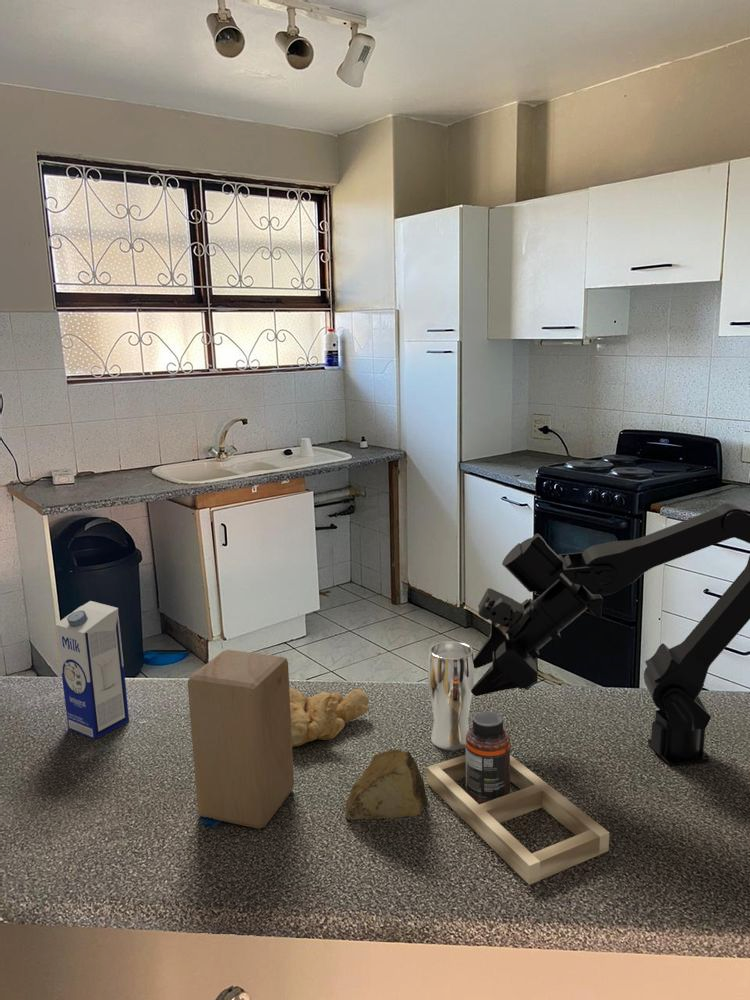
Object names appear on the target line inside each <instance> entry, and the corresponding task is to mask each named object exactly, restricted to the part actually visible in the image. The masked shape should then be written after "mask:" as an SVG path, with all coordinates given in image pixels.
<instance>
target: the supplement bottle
mask: <svg viewBox="0 0 750 1000" xmlns="http://www.w3.org/2000/svg"><path fill="white" fill-rule="evenodd" d="M465 755H466V778H465V789H466V791H465V792H466V793H467V794H468V795H469V796H471V797H472V798H473V799H474V800H475V801H476V802H477V803H478V804H482V803H485V802H488V801H491V800H493V799H496V798H499V797H502V796H505V795H507V794H510V792H511V790H510V788H511V781H510V755H511V737H510V734H509V732H508V731H507V730H506V729H505V728H504V720H503V717H502V715H501V714H499V713H497V712H494V711H491V710H490V711H489V710H485V711H484V710H483V711H479V712H477V713H475V714H474V715H473V717H472V727H469V730H468V732H467V734H466V748H465Z"/></svg>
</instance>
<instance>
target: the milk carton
mask: <svg viewBox="0 0 750 1000" xmlns="http://www.w3.org/2000/svg"><path fill="white" fill-rule="evenodd" d="M55 629H56V636H57V637H56V638H57V645H58V655H59V662H60V669H61V677H62V678H61V679H62V687H63V696H64V704H65V711H66V720H67V728H68V730H71V731H73V732H74V733H79V734H81V735H82V736H86V737H87V738H90V739H93V740H94V741H95V740H97V739H100V738H101V737H103V736H104V735H106V734H108V733H111V732H112V731H115V730H116V729H118V728H119V727H121V726H124V725H125V724H127V723H129V722H130V717H129V706H128V698H127V697H128V696H127V687H126V677H125V667H124V656H123V647H122V646H123V645H122V636H121V626H120V618H119V607H115V606H113V605H112V606H111V605H108V604H105V603H100V602H97V601H92V600H89V601H88V602H86V603H84V604H83V605H80V606H79V607H77V608H76V609H75V610H73V611H72V612H71V613H69V614H68V615H66V616H64V618H62V619H61V620H60V621H58V622H57V623H56V624H55Z"/></svg>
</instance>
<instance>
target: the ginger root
mask: <svg viewBox="0 0 750 1000" xmlns="http://www.w3.org/2000/svg"><path fill="white" fill-rule="evenodd" d="M289 692H290V712H291V733H292V747H299V746H302V745H303V744H304V745H305V744H306V743H309V742H313V741H315V740H320V741H329V740H331V739H333V738H335V737H338V734H339V733H340V732H341V731H342V730H343V729H344V727H345V725H346V723H349V722H351V721H353V720H355V719H357V718H359V717H361V716H363V715H365V714H366V713H368V712H370V706H369V702H370V701H369V697H368V696H367V693H366V692H365V691H364V690H362V689H360V688H356V689H353V690H351V691H350V692H349V693H347V694H346V696H344V697H343V695H342V694H340V693H339V692H332V693H329V692H326V691H321V692H320V693H317V694H315V695H313V696H311V697H309V696H305V695H304V693H303V692H302V691H298V690H297V689H295V688H293V687H291V686H289Z"/></svg>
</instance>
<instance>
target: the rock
mask: <svg viewBox="0 0 750 1000" xmlns="http://www.w3.org/2000/svg"><path fill="white" fill-rule="evenodd" d="M425 787H426V786H425V782H424V778H423V777H422V775H421V773H420V769H419V767H418V764H417V762H416V761H415V759H414V757H413V756H412V755H411V752H410V751H408V750H406V751H403V750H402V749H397V748H396V749H395V748H394V749H389V750H387V751H383V752H381V753H376V754H374V755H373V757H372V759H371V761H370V763H369V765H368V766H367V768H365V770H364V772H363V773H362V775H361V776H360V778H359V779H358V780H357V781H355V782H354V784H353V785H352V787H351V789H350V793H349V795H348V797H347V800H346V801H345V807H344V809H345V818H346V820H362V819H366V820H370V819H383V818H384V819H392V818H397V819H398V818H402V817H416V816H419V815H420V814H421V813H422V812H423V810H424V809H425V807H426V806H427V800H428V795H427V793H426V788H425Z"/></svg>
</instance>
